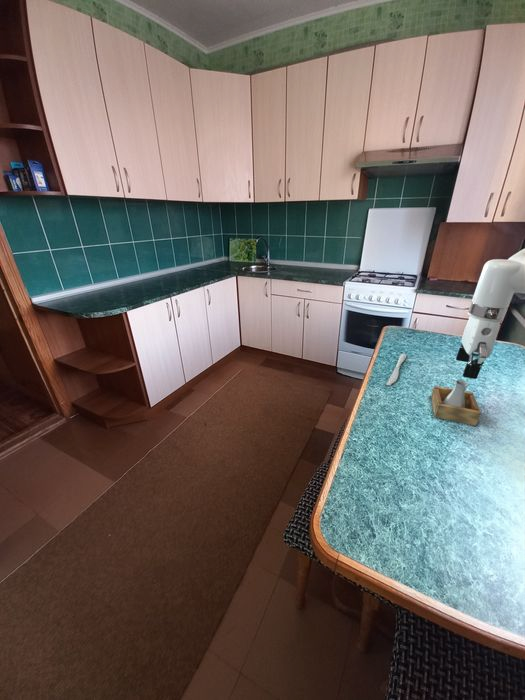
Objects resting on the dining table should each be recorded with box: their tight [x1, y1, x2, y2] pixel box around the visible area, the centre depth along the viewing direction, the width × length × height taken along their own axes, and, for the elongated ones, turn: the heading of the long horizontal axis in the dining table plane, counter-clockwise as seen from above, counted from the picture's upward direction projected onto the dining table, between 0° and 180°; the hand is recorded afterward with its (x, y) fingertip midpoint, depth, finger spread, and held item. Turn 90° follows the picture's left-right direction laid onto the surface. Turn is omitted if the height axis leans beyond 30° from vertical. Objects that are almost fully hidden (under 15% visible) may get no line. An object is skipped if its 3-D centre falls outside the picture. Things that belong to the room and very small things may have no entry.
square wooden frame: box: [430, 385, 482, 426], centre depth 87 cm, size 10×10×4 cm
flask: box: [441, 379, 469, 408], centre depth 86 cm, size 7×7×10 cm
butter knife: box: [385, 353, 407, 386], centre depth 109 cm, size 1×27×3 cm
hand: (465, 368), depth 81 cm, fingers open, 9 cm apart
